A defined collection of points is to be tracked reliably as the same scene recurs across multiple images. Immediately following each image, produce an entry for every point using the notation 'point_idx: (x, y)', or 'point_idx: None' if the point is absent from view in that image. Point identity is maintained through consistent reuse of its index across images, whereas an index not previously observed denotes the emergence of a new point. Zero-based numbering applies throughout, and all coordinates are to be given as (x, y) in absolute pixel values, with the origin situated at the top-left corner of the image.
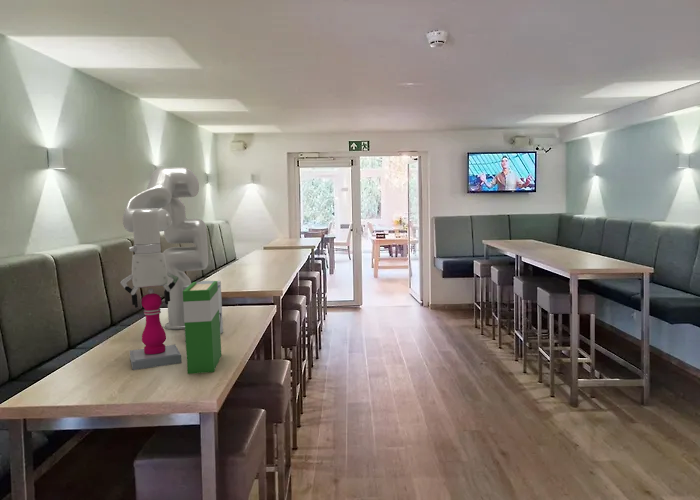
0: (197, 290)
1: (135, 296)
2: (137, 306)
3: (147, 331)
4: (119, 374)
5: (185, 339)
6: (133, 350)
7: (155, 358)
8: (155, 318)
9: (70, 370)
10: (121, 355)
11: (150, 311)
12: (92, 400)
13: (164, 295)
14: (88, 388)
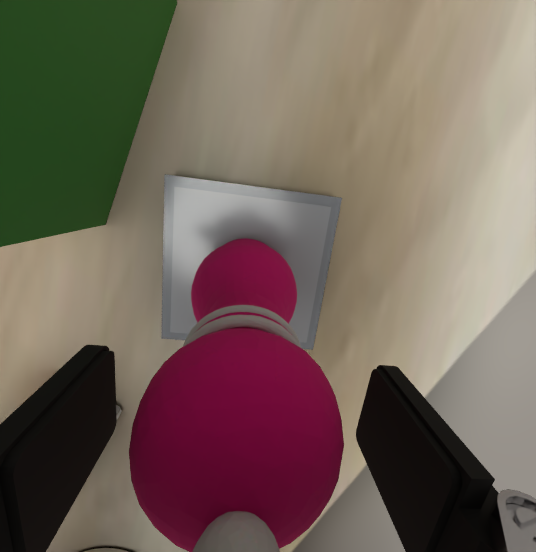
0: None
1: (464, 458)
2: (379, 369)
3: (281, 278)
4: (377, 176)
5: (116, 415)
6: (304, 337)
7: (261, 188)
8: (233, 303)
9: (469, 312)
10: None
11: (267, 320)
12: None
13: (71, 497)
14: (493, 78)
